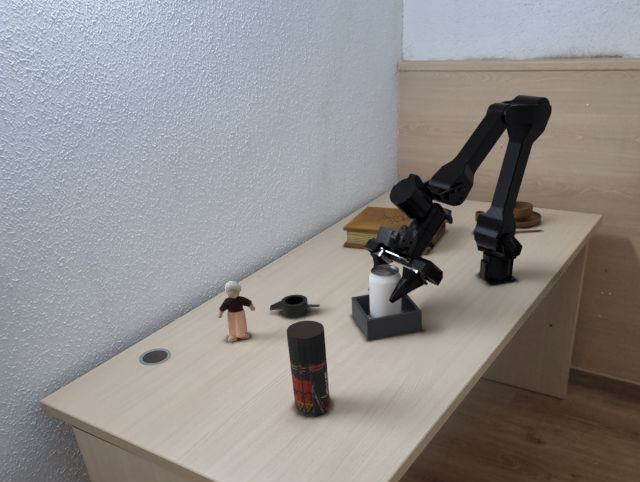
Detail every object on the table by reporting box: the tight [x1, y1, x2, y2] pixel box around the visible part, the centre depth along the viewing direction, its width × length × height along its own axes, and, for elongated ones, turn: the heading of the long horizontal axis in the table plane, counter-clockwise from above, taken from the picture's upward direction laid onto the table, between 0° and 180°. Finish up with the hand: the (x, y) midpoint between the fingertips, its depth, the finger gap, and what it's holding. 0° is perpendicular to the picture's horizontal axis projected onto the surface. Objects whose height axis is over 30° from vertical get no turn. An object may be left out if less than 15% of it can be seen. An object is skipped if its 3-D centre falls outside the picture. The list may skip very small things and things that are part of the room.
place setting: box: [472, 200, 542, 235], centre depth 172 cm, size 18×20×6 cm
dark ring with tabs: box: [269, 294, 321, 319], centre depth 135 cm, size 8×10×3 cm
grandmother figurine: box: [217, 280, 256, 343], centre depth 124 cm, size 8×4×13 cm, turn 117°
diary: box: [342, 206, 447, 255], centre depth 168 cm, size 23×19×6 cm
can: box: [368, 264, 402, 319], centre depth 125 cm, size 6×6×12 cm
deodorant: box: [286, 320, 331, 418], centre depth 101 cm, size 6×6×15 cm
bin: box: [350, 293, 423, 341], centre depth 127 cm, size 11×11×4 cm
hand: (380, 296), depth 124 cm, fingers closed on can, 6 cm apart
